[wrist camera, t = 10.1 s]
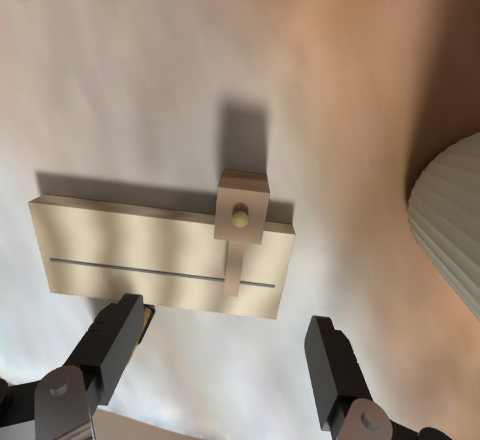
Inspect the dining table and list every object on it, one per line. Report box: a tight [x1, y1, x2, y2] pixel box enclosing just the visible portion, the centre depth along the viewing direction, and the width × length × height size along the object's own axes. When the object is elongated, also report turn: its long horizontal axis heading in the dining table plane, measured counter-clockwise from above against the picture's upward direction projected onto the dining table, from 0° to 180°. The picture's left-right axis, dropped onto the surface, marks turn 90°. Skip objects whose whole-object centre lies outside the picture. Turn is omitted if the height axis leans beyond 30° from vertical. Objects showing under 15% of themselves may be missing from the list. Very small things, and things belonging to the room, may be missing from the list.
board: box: [28, 194, 296, 319], centre depth 31 cm, size 28×12×2 cm, turn 84°
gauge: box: [214, 169, 270, 297], centre depth 27 cm, size 12×4×7 cm, turn 174°
